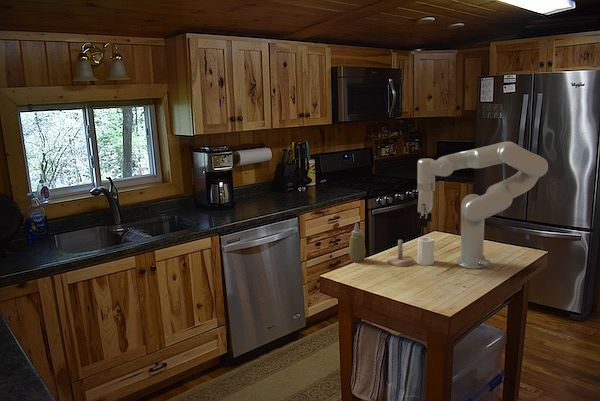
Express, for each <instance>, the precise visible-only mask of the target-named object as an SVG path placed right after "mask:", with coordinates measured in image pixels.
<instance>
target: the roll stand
mask: <svg viewBox="0 0 600 401" xmlns="http://www.w3.org/2000/svg"><path fill="white" fill-rule="evenodd" d="M403 241H404V240H403V239H397V254H394V255H389V256H388V257H386V263H387V264H388V265H390V266H391V267H392V266H393V267H400V268H401V267H403V268H404V267H410V266H412V265H413V264H414V262H415V260H414V259H415V258H414V257H412V256H410V255H406V254H403V253H404V252H403V246H404V245H403V244H404V242H403Z"/></svg>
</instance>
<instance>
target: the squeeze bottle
mask: <svg viewBox="0 0 600 401" xmlns="http://www.w3.org/2000/svg"><path fill="white" fill-rule="evenodd" d="M348 254H349V257H350V261H352V262H354V263H361V262H364V260H365V257H366V255H367V250H366V244H365V236H364V235H363V231H362V230H361V229H360V226H359V223H358V222H357V223H356V222H355V224H354V229H353V230H351V235H350V236H349V245H348Z"/></svg>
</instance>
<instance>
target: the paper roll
mask: <svg viewBox="0 0 600 401" xmlns="http://www.w3.org/2000/svg"><path fill="white" fill-rule="evenodd" d="M417 263H418V264H419V265H422V266H423V265H424V266H430V265H434V263H435V239H434V238H433V237H428V236H427V237H426V236H424V237H423V236H422V237H418V238H417Z"/></svg>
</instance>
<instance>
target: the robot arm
mask: <svg viewBox="0 0 600 401" xmlns="http://www.w3.org/2000/svg"><path fill="white" fill-rule="evenodd" d="M504 163H505V164H507V165H508V166H510V167H512V168H513V169H516V170H517V172H516V173H515V174H514V175H512V176H510V177H508V178H506V179H504V180H502V181H500V182H497V183H495V184H493V185H490V186H489V187H488V188H487V190H486V191H485V193H484V194H482V195H478V194H476V193H470V194H468V195H466V196H464V198H463V199H462V201H461V205H460V211H461V212H460V213H461V217H460V218H461V226H460V227H461V229H460V258H458V259H457V260H456V264H457V265H458V266H459V267H461V268H465V269H472V270H473V269H474V270H476V269H483V268H485V267H489V266H490V264H491V260H490V259H486V255H485V254H484V245H485V244H484V243H485V242H484V240H485V219H488V218H490V217H492V216H494V215H497V214H499V213H502V212H503V211H505V210H506V209H508V208H509V207H510V206H511V205H512V203H513V199H515V198H517V197H518V196H521V195H522V194H525V193H526V192H529V190H531V189H532V188H533V187H534V186H535V185H536V183H537V182H538V180H539V178H541V177H543V176H545V175H546V174H547V172H548V170H549V164H548V161H547V159H545V158H544V157H542V156H540V155H538V154H536V153H533V152H532V151H530V150H527V149H525V148H523V147H522V146H520V145H519V144H516V143H515V142H512V141H510V140H509V141H502V142H497V143H494V144H490V145H486V146H481V147H477V148H474V149H473V148H472V149H469V150H465V151H460V152H455V153H451V154H447V155H442V156H441V157H438V159H433V158H419V159H418V160H417V178H416V180H417V183H416V184H417V188H416V189H417V191H418V197H417V198H418V199H417V200H418V202H417V213H419V215H420V216H419V227H420V228H428V222H429V223H430V222H432V221H433V220H432V217H433V214H432V209H433V193H434V191H435V190H436V177H437V176H438V177H449V176H451V174H453V173H454V171H458V170H461V169H470V168H471V169H483V168H487V167H491V166H494V165H500V164H504Z"/></svg>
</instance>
